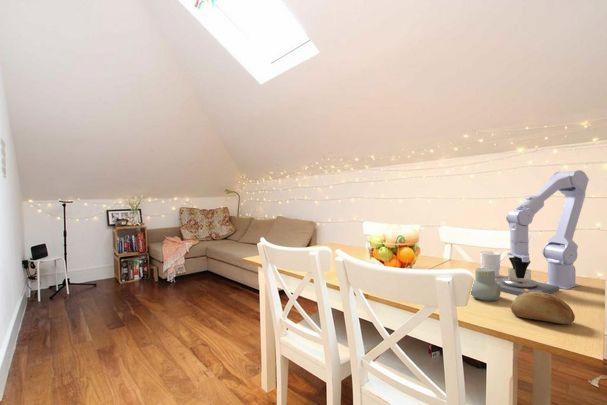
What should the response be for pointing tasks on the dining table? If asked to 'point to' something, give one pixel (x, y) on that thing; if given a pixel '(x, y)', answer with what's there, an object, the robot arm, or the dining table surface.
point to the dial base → (518, 291)
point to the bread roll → (542, 308)
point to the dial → (519, 279)
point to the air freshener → (485, 285)
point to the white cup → (490, 261)
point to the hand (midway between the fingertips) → (519, 277)
